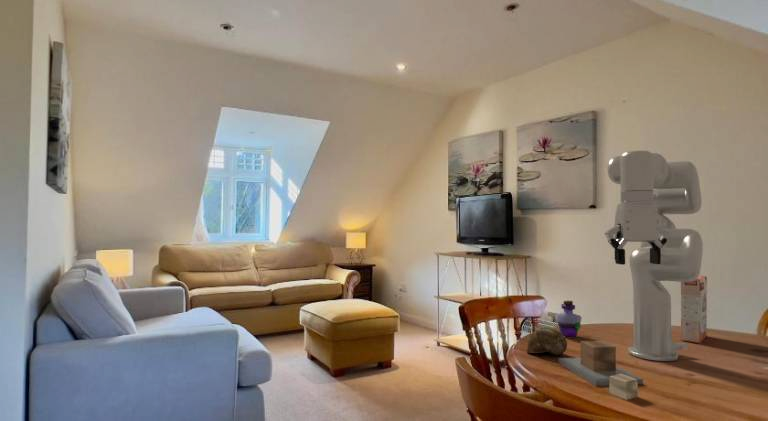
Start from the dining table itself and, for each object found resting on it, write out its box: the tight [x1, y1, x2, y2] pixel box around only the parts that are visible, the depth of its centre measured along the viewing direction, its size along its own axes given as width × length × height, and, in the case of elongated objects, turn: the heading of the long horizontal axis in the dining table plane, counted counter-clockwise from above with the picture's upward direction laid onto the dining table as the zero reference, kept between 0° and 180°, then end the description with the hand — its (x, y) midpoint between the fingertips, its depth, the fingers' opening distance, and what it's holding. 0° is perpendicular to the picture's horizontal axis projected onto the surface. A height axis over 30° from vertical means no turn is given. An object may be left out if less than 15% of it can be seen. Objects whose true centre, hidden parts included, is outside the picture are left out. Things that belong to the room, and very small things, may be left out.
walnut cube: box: [580, 340, 617, 371], centre depth 116 cm, size 6×6×6 cm
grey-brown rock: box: [525, 326, 568, 356], centre depth 133 cm, size 11×9×8 cm
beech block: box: [608, 374, 639, 401], centre depth 101 cm, size 4×4×4 cm
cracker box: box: [680, 275, 708, 344], centre depth 152 cm, size 14×6×21 cm, turn 137°
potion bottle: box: [555, 300, 583, 338], centre depth 154 cm, size 9×9×12 cm
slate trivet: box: [557, 357, 644, 387], centre depth 116 cm, size 12×18×1 cm, turn 6°
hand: (637, 263), depth 117 cm, fingers open, 9 cm apart
